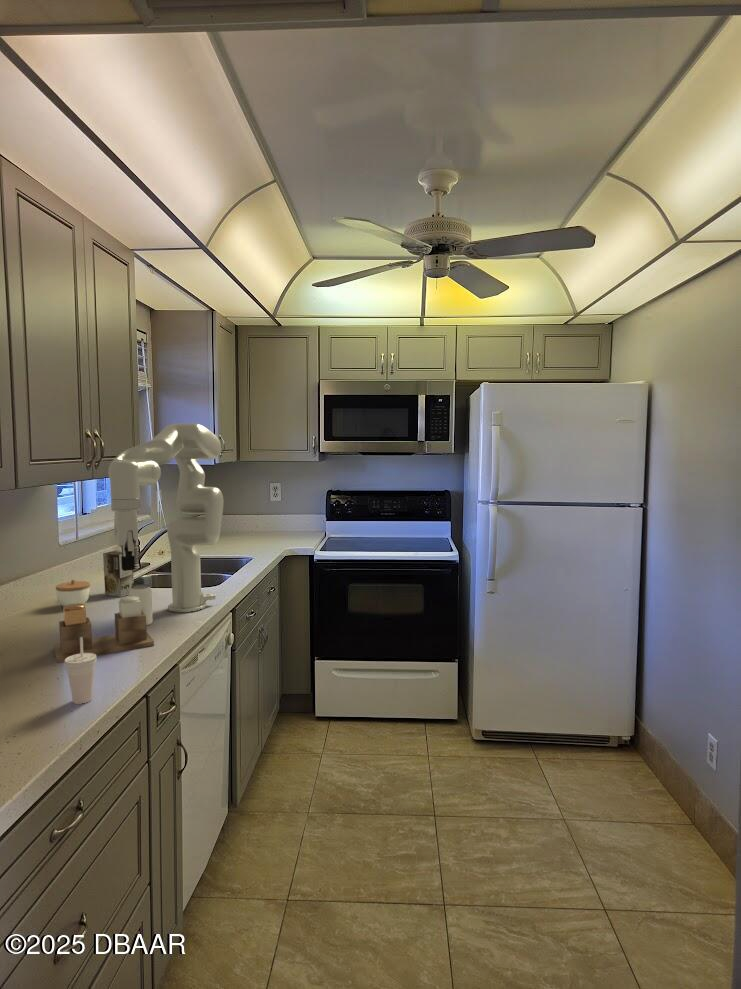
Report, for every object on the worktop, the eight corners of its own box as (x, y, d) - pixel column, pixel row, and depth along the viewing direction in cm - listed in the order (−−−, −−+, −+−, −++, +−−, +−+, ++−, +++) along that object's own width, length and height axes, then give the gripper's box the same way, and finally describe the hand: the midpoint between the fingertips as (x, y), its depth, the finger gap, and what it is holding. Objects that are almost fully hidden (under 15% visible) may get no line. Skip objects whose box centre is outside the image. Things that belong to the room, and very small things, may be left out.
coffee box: (135, 593, 223) (133, 551, 221) (120, 597, 217) (119, 554, 216) (118, 591, 227) (116, 549, 225) (104, 594, 221) (102, 552, 220)
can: (145, 619, 189) (144, 583, 188) (156, 623, 185) (155, 586, 184) (126, 624, 184) (125, 586, 183) (137, 628, 180) (135, 590, 179)
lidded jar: (95, 606, 205) (93, 580, 204) (61, 612, 198) (60, 585, 197) (85, 600, 213) (84, 575, 212) (53, 606, 206) (51, 579, 205)
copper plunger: (84, 629, 162) (83, 602, 162) (86, 634, 158) (85, 606, 157) (64, 632, 160) (63, 605, 159) (66, 637, 155) (64, 609, 155)
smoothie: (104, 694, 131) (101, 634, 130) (88, 707, 125) (85, 643, 124) (76, 694, 132) (73, 633, 131) (59, 706, 126) (56, 643, 124)
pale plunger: (138, 621, 170) (137, 595, 169) (141, 625, 165) (140, 599, 165) (119, 623, 167) (118, 597, 166) (122, 628, 163) (121, 601, 162)
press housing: (145, 633, 174) (144, 606, 174) (154, 645, 164) (153, 616, 163) (54, 648, 162) (52, 619, 161) (57, 662, 151) (55, 631, 151)
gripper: (107, 503, 168) (109, 566, 169) (115, 508, 155) (118, 576, 156) (135, 502, 172) (137, 564, 173) (145, 506, 159) (147, 573, 160)
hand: (128, 569), depth 165 cm, fingers closed
